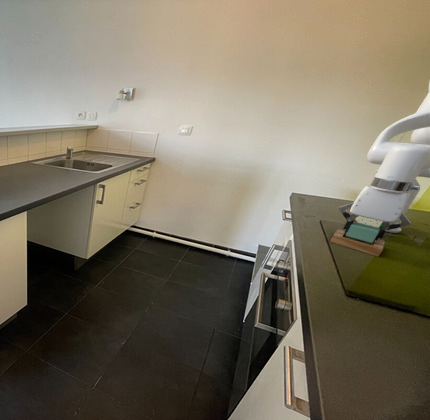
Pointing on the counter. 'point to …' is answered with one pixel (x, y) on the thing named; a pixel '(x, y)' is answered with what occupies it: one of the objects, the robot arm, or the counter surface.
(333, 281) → the counter surface
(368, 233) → the green pad
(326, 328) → the counter surface
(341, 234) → the recessed wooden tray
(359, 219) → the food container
